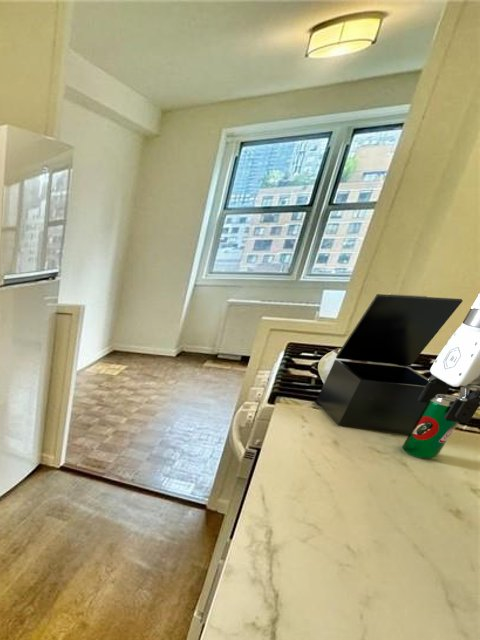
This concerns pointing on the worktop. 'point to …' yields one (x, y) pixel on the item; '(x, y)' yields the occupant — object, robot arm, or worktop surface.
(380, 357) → the bin lid
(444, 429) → the soda can
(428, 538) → the worktop surface
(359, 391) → the bin
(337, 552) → the worktop surface
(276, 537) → the worktop surface
